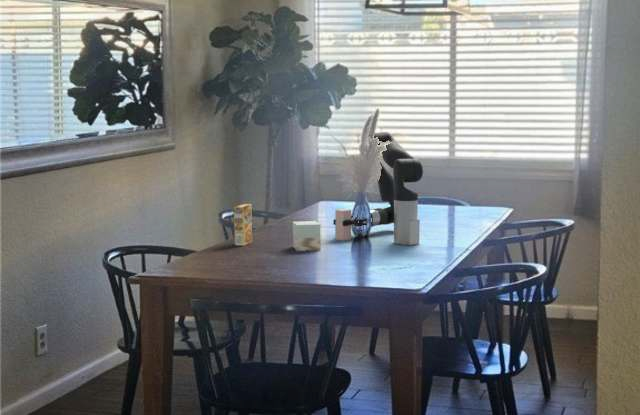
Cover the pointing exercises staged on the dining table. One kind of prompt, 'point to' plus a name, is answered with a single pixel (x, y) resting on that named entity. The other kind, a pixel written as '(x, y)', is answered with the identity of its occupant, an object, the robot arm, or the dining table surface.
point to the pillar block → (340, 230)
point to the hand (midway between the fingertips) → (338, 222)
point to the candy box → (243, 224)
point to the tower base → (306, 243)
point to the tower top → (306, 229)
